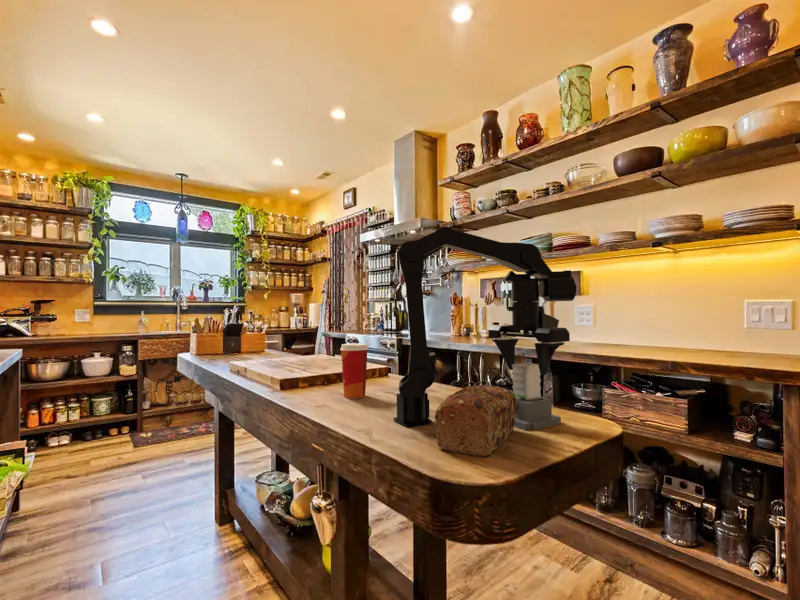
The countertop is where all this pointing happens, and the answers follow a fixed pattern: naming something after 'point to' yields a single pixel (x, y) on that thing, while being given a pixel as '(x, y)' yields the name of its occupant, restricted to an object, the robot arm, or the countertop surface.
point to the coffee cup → (354, 369)
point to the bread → (475, 420)
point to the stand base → (535, 414)
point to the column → (526, 381)
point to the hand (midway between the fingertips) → (526, 372)
